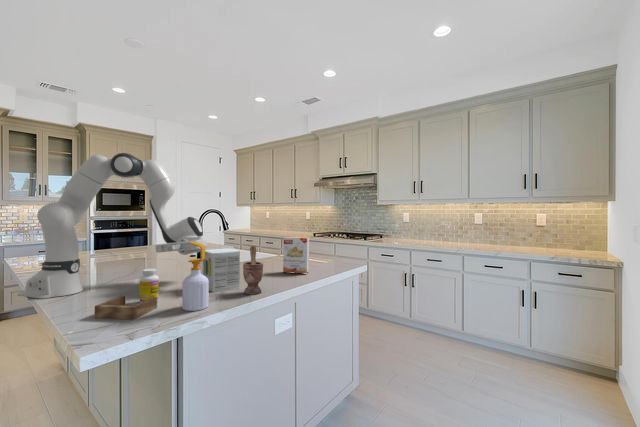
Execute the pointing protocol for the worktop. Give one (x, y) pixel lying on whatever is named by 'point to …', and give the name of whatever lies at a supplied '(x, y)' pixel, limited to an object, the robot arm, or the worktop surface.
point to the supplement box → (222, 269)
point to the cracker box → (296, 254)
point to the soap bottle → (195, 286)
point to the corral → (124, 309)
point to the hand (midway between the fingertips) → (169, 247)
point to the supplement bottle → (149, 285)
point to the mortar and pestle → (252, 273)
